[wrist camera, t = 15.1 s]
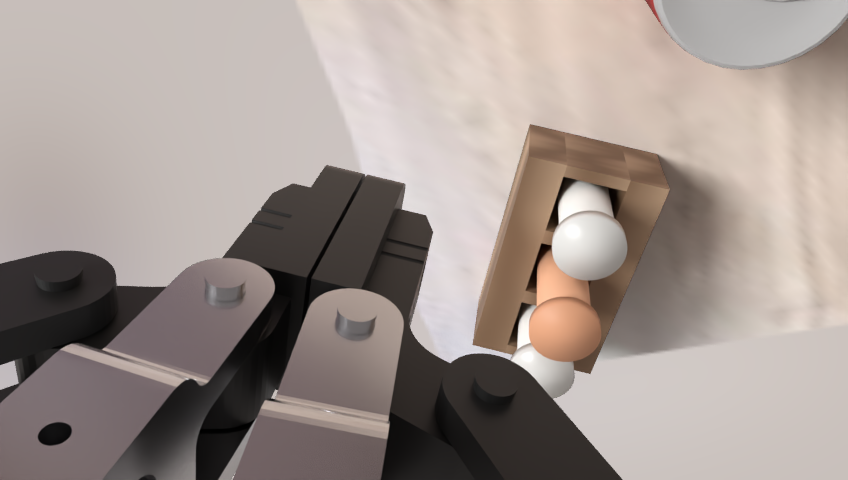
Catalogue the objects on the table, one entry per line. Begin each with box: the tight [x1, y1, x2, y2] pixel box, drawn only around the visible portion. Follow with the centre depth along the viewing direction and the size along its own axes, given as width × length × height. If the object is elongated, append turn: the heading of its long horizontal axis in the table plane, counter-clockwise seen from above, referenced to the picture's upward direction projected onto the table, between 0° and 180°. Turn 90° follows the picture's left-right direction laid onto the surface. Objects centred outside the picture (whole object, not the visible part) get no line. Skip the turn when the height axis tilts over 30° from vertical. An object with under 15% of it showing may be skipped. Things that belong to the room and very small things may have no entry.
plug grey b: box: [552, 177, 627, 281], centre depth 38 cm, size 4×4×9 cm
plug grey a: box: [510, 302, 574, 399], centre depth 43 cm, size 4×4×9 cm
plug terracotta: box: [529, 243, 601, 362], centre depth 39 cm, size 4×4×9 cm
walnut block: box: [473, 124, 670, 374], centre depth 43 cm, size 8×14×5 cm, turn 169°
